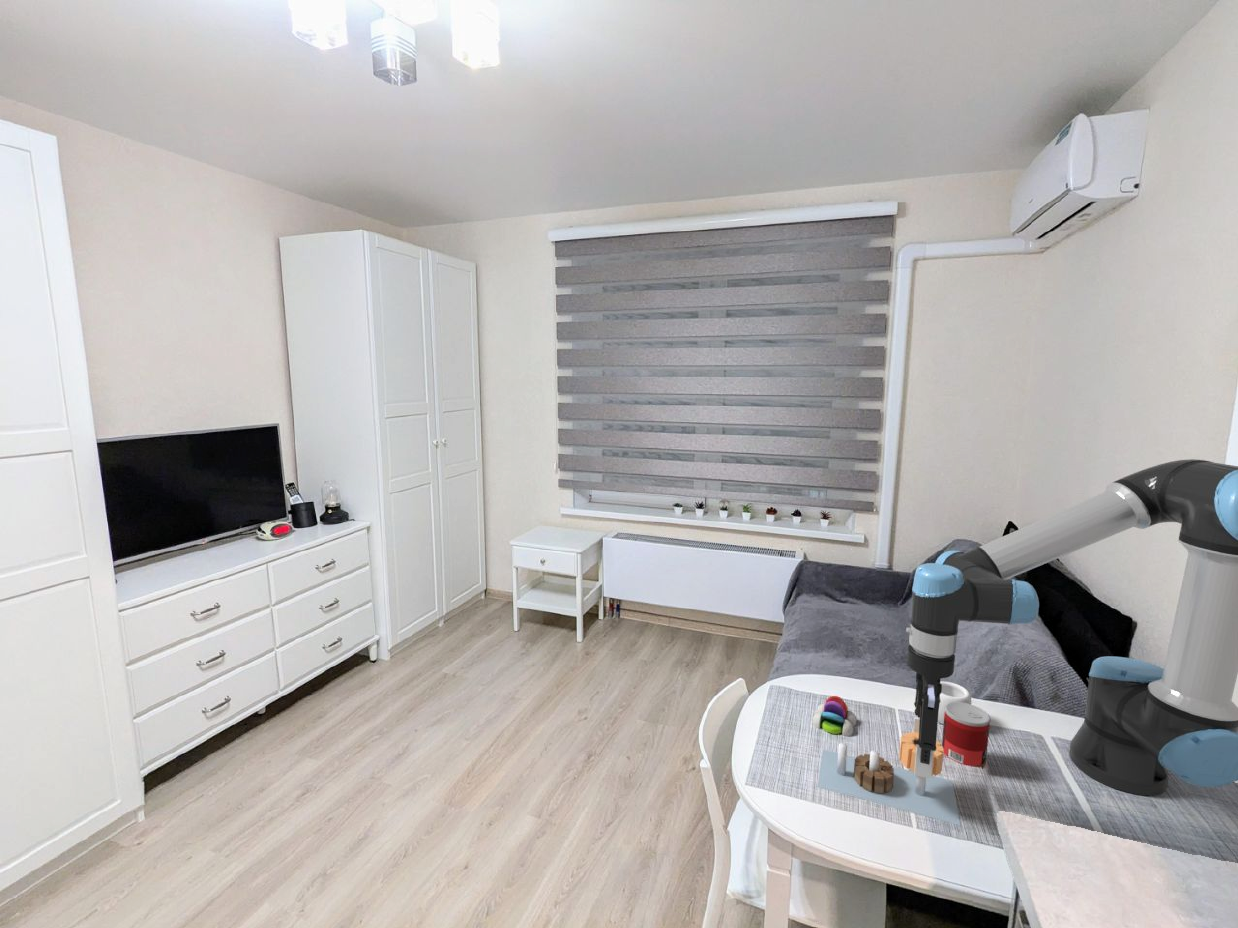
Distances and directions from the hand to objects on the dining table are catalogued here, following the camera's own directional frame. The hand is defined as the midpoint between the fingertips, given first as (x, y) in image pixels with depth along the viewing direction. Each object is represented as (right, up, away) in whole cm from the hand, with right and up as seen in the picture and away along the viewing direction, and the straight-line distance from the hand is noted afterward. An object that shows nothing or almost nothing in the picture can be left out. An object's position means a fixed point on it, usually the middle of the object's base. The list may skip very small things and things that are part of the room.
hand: (921, 761), depth 107 cm
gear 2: (0, 0, 0) cm, 0 cm away
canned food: (+15, -6, +12) cm, 20 cm away
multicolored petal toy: (-8, -5, +23) cm, 25 cm away
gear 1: (-7, -6, +4) cm, 10 cm away
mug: (+20, -4, +27) cm, 34 cm away
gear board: (-5, -8, +4) cm, 10 cm away
